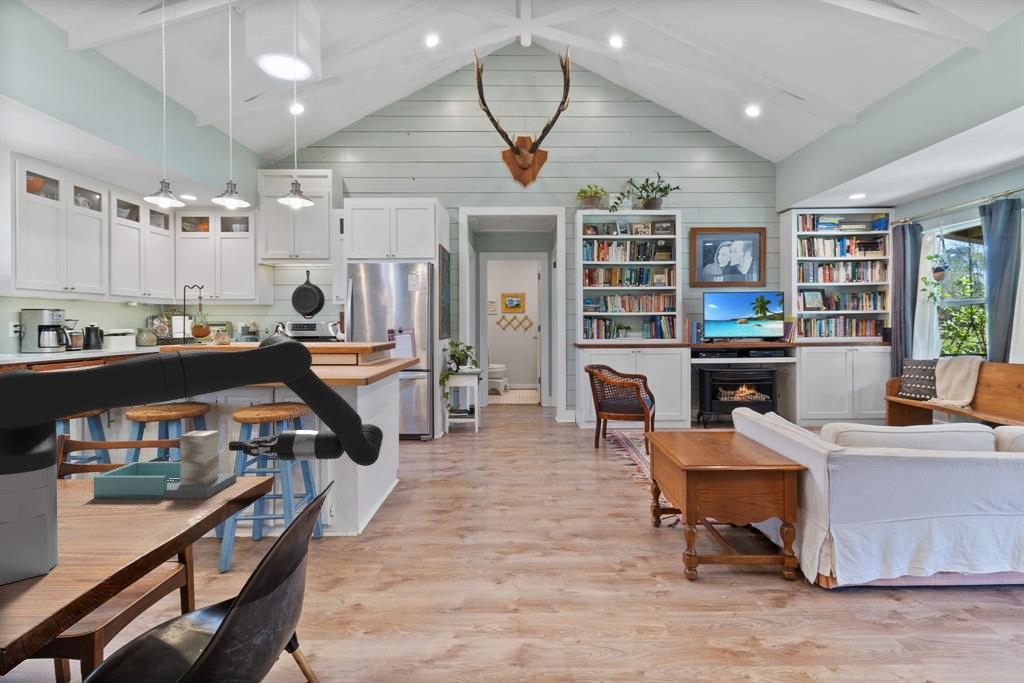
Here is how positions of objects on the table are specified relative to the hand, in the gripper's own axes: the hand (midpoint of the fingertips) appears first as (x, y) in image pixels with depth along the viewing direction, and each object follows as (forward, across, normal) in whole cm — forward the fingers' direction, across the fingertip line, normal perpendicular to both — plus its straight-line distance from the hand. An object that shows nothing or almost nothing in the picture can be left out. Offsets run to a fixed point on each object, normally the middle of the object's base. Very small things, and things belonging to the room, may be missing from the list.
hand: (230, 445), depth 129 cm
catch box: (+20, 0, +11) cm, 23 cm away
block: (+7, 0, +9) cm, 11 cm away
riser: (+7, 0, +11) cm, 13 cm away
